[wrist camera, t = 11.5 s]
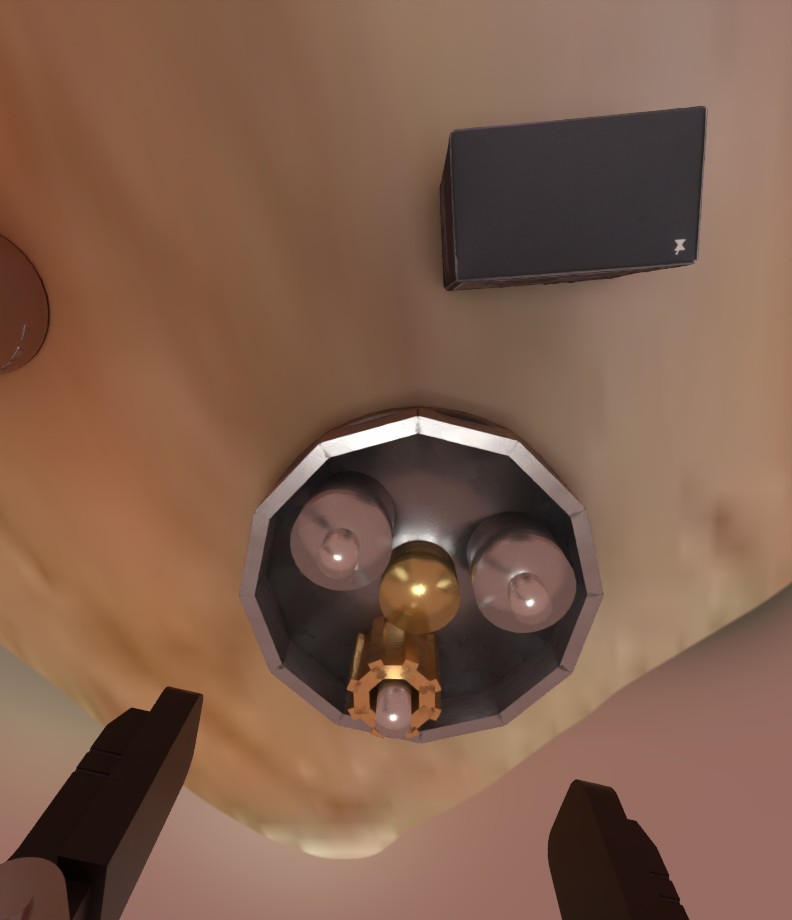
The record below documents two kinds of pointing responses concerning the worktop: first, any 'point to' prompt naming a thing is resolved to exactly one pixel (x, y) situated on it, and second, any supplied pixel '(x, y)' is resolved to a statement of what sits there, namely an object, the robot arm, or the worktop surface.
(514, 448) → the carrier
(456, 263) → the small box
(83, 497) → the worktop surface
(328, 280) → the worktop surface
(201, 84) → the worktop surface
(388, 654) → the planet gear
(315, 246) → the worktop surface
